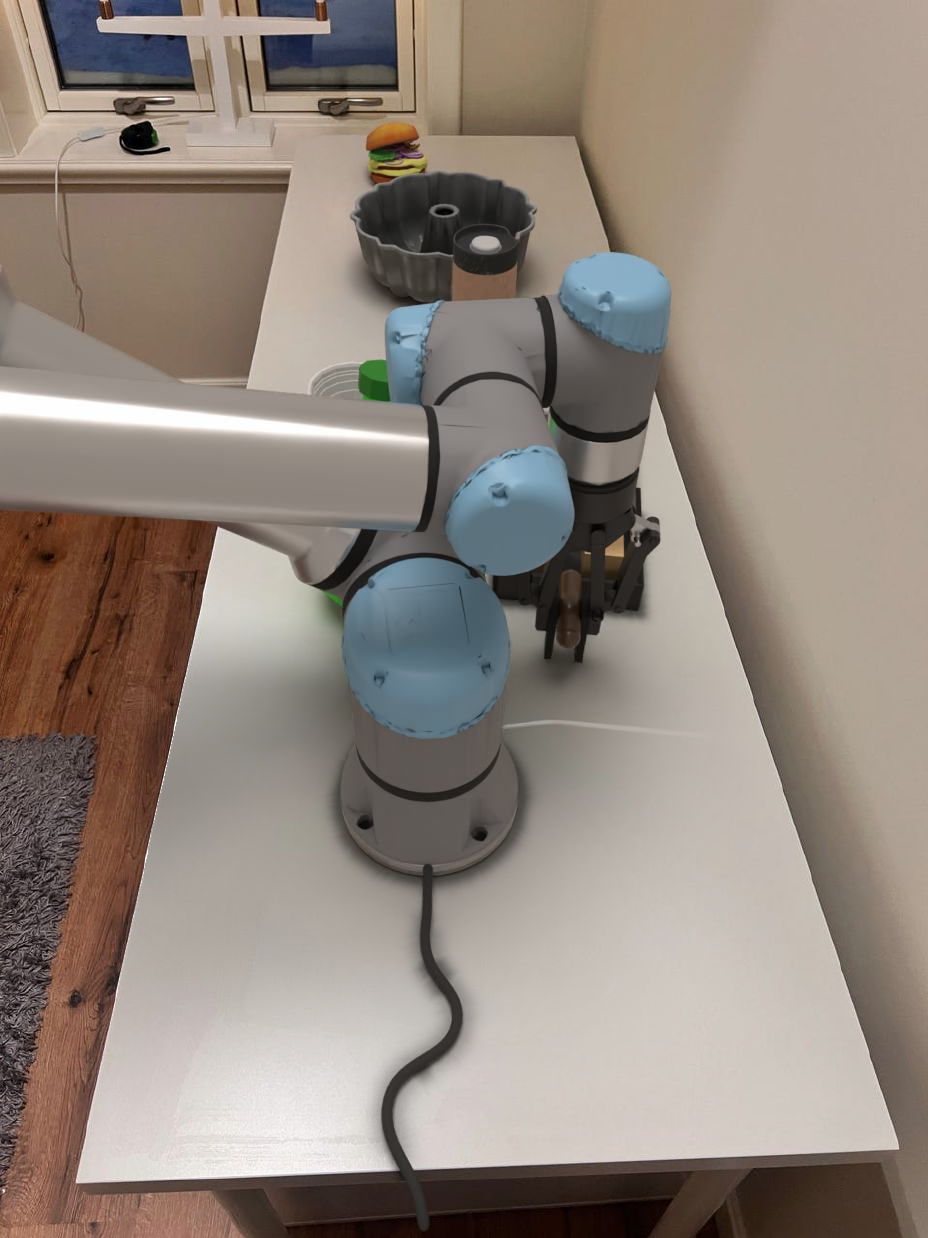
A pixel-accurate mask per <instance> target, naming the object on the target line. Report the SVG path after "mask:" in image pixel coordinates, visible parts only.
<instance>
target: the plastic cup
mask: <svg viewBox="0 0 928 1238" xmlns="http://www.w3.org/2000/svg"><path fill="white" fill-rule="evenodd" d="M363 363H364V361H363V362H361V361H347V362H340V363H333V364H331V365H329V366H327V367H324V368H322V369H320V370H318V371H317V372H316V373H315V374H314V375H313V376H312V377H311V378H310V379H309V380H308V383H307V390H306V394H308V395H319V396H330V397H341V398H352V399H362V400H363V394H362V393H360V392H359V388H358V378H359V367H360V365H361V364H363Z"/></svg>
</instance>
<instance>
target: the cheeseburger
mask: <svg viewBox="0 0 928 1238" xmlns="http://www.w3.org/2000/svg"><path fill="white" fill-rule="evenodd" d="M419 139H420V134H419V132H418V131H417V129H416V127H415V126H414V125H412V124H409V123H404V122H400V121H394V122H389V123H385V124H381V125H379V126H377V127H376V128H375V129H373V130H372V131H371V132H370V133H369V134H368V135H367V137H366V142H365V150H366V152H367V151H368V156H367V157H368V159H369V160H368V165H367V167H368V168H367V171H368V173H369V174H370V175H371V177H372V180H373V181H374V182H375V183H376V184H378V183H385V182H390V181H391V180H393V179H395V178H397V177H399V176H403V175H407V174H416V173H424V174H426V169H427V168H428V165H429V161H428V159H427V158H426V156H425V154H424V152H423V151H422V150H421V149H419V148H420V146H421V143H420V142H419V143H414V142H416V141H418V140H419ZM413 143H414V144H413Z"/></svg>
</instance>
